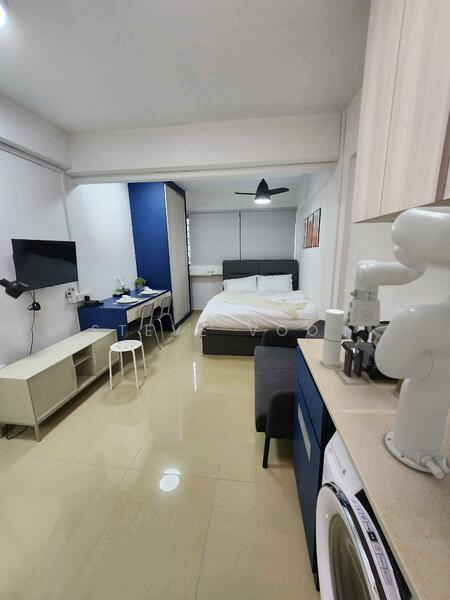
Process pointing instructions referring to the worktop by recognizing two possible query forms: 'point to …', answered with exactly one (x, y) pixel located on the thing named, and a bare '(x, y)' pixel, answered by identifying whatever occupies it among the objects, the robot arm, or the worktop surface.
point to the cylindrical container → (333, 336)
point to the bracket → (357, 362)
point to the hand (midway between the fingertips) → (359, 340)
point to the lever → (358, 342)
